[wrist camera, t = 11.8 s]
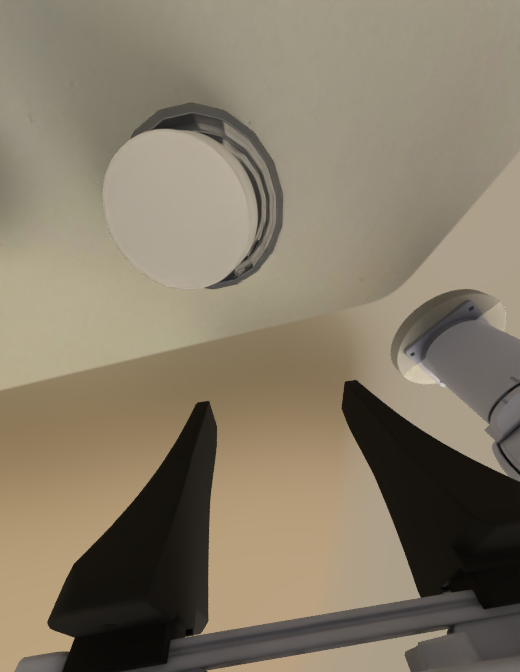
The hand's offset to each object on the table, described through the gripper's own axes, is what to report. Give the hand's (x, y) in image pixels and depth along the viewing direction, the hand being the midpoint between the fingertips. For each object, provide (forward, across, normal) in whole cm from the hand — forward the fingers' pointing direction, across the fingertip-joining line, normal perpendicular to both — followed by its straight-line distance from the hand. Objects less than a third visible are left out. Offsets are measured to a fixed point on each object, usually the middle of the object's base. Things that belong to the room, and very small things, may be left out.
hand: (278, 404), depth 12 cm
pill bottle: (+10, +3, -9) cm, 14 cm away
